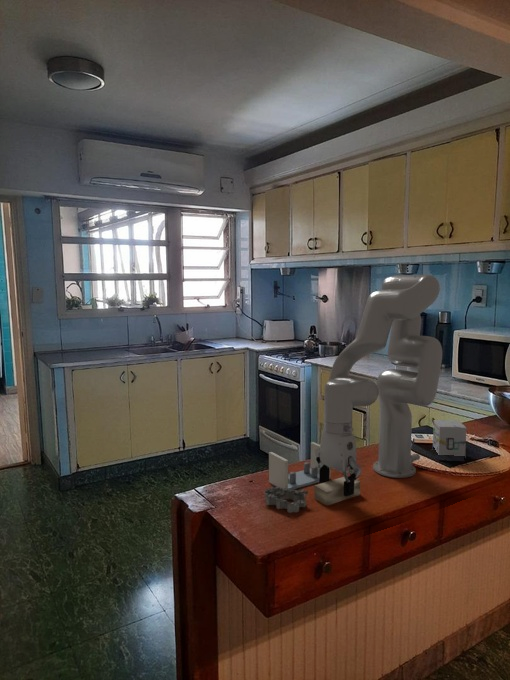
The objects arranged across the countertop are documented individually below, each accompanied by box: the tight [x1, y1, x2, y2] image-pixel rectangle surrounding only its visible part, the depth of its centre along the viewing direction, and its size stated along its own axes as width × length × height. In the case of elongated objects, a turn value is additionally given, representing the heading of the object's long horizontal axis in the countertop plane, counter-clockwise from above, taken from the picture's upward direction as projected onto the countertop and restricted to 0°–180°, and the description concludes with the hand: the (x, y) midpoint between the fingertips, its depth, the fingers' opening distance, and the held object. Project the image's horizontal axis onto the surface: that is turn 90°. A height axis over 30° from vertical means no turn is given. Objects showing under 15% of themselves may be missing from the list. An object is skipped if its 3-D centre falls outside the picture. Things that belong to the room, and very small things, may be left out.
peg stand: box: [268, 441, 332, 490], centre depth 138 cm, size 17×8×9 cm, turn 122°
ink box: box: [432, 419, 467, 457], centre depth 156 cm, size 8×8×12 cm
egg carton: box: [262, 486, 309, 513], centre depth 124 cm, size 11×8×4 cm
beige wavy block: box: [313, 476, 361, 506], centre depth 128 cm, size 12×5×4 cm, turn 122°
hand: (336, 488), depth 127 cm, fingers open, 9 cm apart
